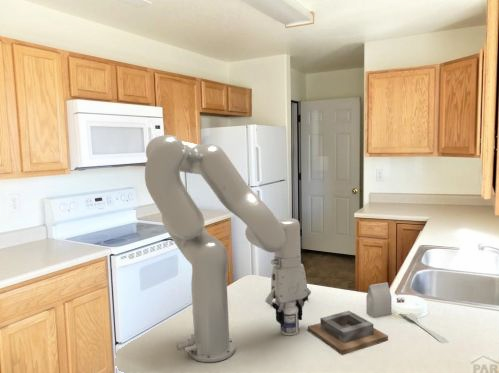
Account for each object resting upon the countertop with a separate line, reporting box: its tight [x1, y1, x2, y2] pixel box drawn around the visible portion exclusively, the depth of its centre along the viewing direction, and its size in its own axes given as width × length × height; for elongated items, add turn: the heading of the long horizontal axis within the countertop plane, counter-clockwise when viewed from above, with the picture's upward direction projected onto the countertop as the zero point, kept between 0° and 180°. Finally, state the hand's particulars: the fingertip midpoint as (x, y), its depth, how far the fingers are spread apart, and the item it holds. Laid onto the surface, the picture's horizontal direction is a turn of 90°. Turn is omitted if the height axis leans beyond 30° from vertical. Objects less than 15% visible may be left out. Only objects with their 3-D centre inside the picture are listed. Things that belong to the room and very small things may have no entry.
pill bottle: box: [279, 300, 300, 336], centre depth 118 cm, size 5×5×10 cm
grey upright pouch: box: [365, 281, 392, 319], centre depth 127 cm, size 4×7×10 cm, turn 109°
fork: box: [401, 312, 450, 344], centre depth 118 cm, size 3×21×3 cm, turn 15°
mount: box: [307, 310, 389, 356], centre depth 114 cm, size 16×16×4 cm
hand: (289, 320), depth 118 cm, fingers closed on pill bottle, 5 cm apart
